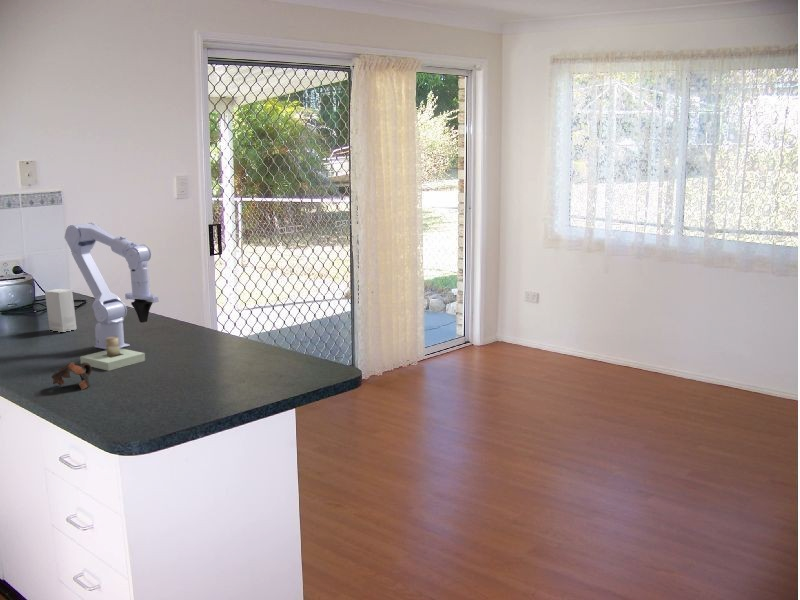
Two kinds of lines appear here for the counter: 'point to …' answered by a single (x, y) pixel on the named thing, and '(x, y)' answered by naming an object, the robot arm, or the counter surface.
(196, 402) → the counter surface
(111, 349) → the beech peg
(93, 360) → the sage board
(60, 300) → the skincare box
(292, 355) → the counter surface
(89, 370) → the brown arch piece
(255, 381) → the counter surface
